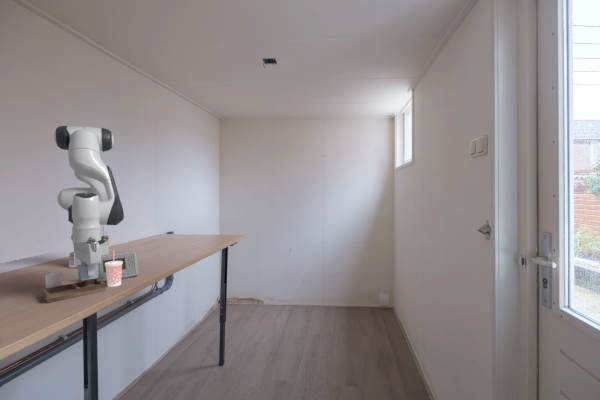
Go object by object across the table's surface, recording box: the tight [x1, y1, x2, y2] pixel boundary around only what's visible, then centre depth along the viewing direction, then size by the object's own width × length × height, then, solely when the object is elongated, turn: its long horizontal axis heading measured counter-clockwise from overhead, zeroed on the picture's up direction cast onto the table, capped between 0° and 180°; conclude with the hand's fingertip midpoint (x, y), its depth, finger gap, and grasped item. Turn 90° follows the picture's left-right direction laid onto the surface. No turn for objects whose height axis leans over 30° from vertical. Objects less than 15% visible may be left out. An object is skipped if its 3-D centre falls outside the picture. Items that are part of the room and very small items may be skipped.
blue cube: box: [77, 264, 98, 282], centre depth 114 cm, size 5×5×5 cm
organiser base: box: [41, 278, 107, 304], centre depth 111 cm, size 9×17×3 cm, turn 138°
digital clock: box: [94, 251, 139, 283], centre depth 130 cm, size 16×9×11 cm, turn 122°
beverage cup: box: [105, 249, 123, 288], centre depth 121 cm, size 6×6×14 cm
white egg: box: [44, 271, 64, 289], centre depth 116 cm, size 5×5×6 cm
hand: (88, 273), depth 114 cm, fingers closed on blue cube, 5 cm apart
